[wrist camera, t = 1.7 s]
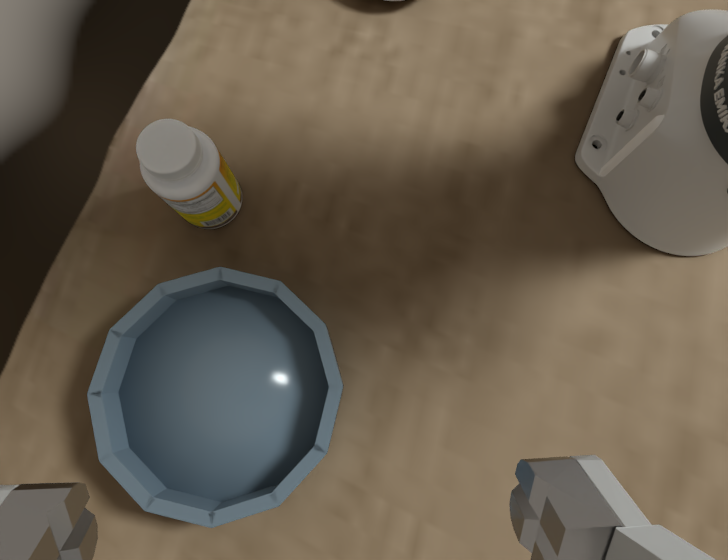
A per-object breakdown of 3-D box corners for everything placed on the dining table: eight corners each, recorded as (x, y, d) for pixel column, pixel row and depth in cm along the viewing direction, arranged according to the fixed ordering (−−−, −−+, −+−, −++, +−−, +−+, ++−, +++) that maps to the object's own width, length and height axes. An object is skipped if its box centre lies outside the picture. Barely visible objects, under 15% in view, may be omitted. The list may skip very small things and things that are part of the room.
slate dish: (157, 257, 39) (138, 246, 36) (362, 307, 39) (363, 300, 35) (82, 477, 36) (54, 488, 32) (308, 533, 35) (303, 551, 32)
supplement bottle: (199, 161, 41) (149, 93, 31) (255, 186, 41) (223, 126, 31) (168, 215, 40) (106, 163, 30) (225, 242, 40) (182, 197, 30)
